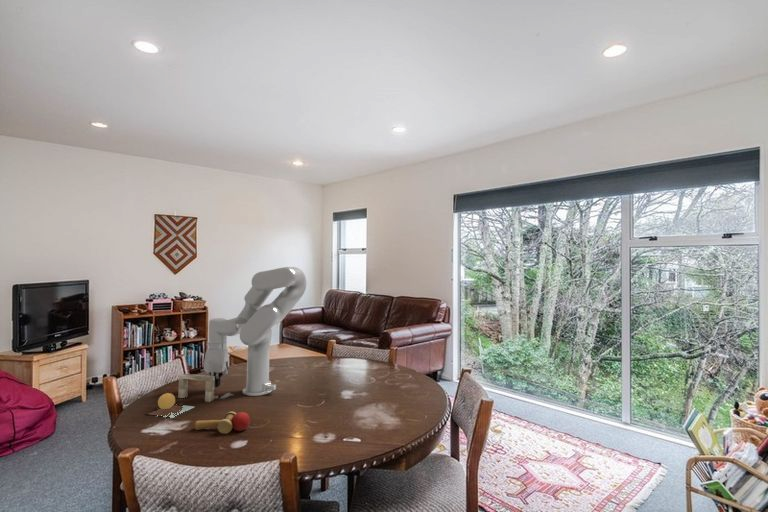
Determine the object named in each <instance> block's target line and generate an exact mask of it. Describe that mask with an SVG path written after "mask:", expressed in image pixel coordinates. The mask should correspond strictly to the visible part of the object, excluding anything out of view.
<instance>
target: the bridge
mask: <svg viewBox="0 0 768 512" xmlns="http://www.w3.org/2000/svg"><path fill="white" fill-rule="evenodd" d="M189 380H192V381H201V382H202V381H203V382H205V388H204V389H205V391H204V392H205V394H204V402H205V403H210V402H213V401H214V400H215V387H214V382H215V376H211V375H203V374H195V373H194V374H191V373H182V374H179V375H178V392H177V393H178V396H177V399H178V398H184V399H186V398H187V397H188V392H189V391H188V389H189V385H188V384H189ZM185 397H186V398H185Z"/></svg>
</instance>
